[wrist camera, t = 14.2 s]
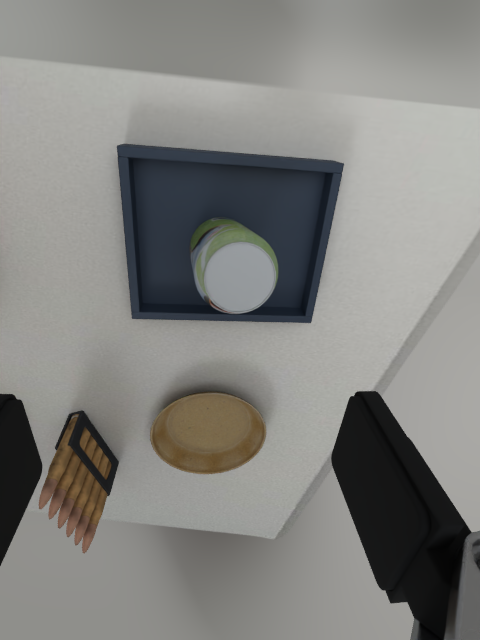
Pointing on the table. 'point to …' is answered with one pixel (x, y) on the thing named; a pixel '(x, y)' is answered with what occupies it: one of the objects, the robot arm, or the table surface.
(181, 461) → the plant saucer
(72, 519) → the ammunition clip
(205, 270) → the beverage can
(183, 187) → the tray
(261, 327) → the table surface
